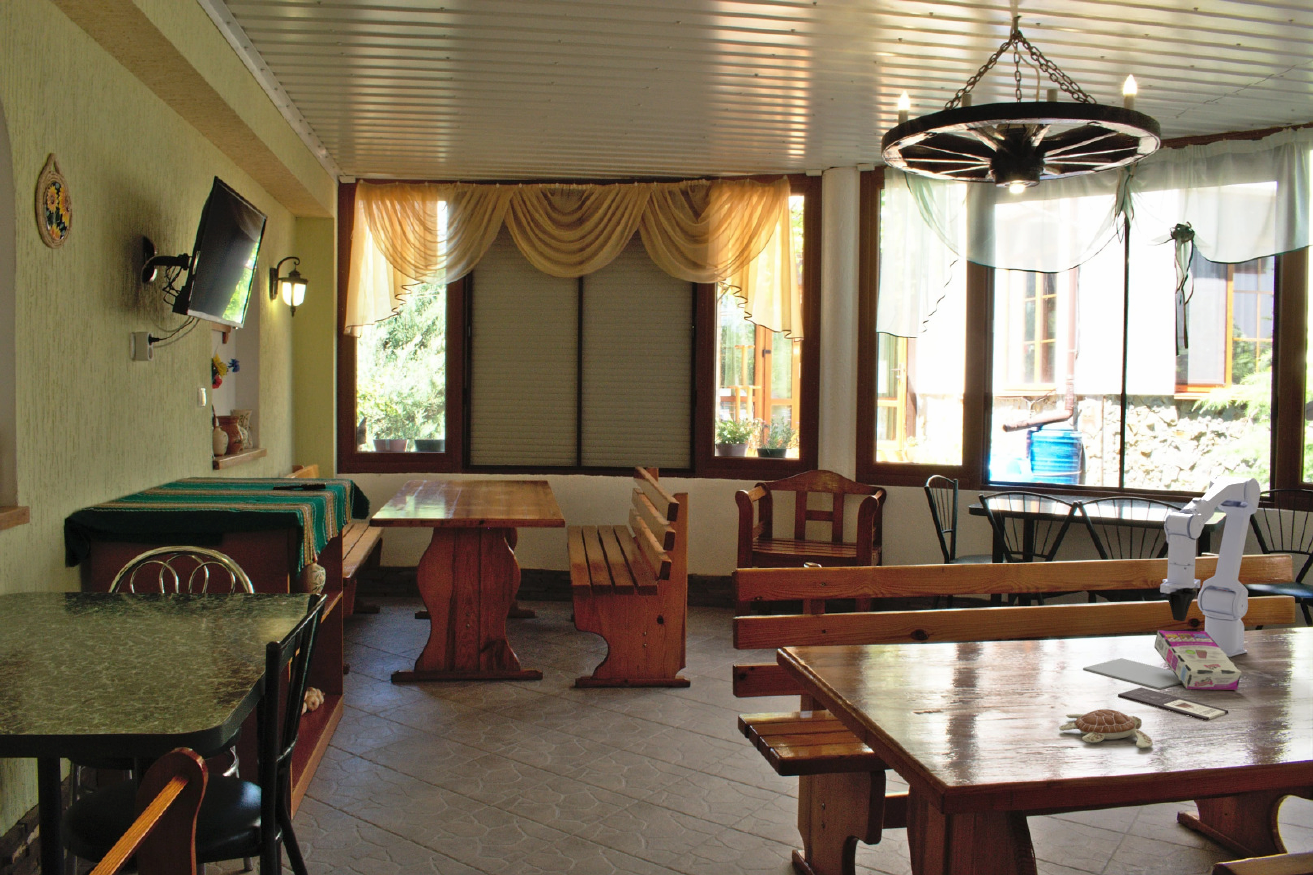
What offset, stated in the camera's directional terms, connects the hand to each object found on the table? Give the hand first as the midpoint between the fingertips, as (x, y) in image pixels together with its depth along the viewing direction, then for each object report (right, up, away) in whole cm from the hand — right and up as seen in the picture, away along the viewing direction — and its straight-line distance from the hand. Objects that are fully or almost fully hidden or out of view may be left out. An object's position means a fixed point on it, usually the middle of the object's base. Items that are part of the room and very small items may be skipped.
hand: (1179, 620), depth 232 cm
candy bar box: (-3, -3, -6) cm, 8 cm away
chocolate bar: (-18, -12, -31) cm, 38 cm away
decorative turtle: (-40, -13, -50) cm, 65 cm away
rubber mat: (-14, -11, -9) cm, 19 cm away
